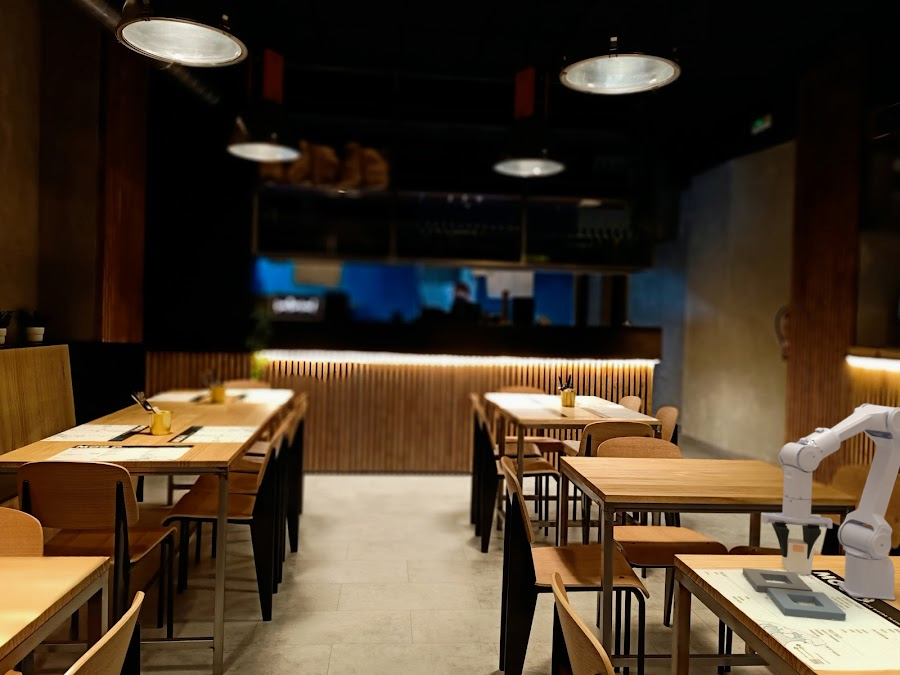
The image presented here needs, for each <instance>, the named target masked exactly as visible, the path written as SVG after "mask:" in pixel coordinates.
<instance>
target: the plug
mask: <svg viewBox="0 0 900 675" xmlns="http://www.w3.org/2000/svg"><path fill="white" fill-rule="evenodd" d="M807 547H808V544H807V543H805V542H804V541H803V538H792V537H788V543H787V557H783V556H782V555H781V564H782V566H783V567H784V568H785V570H786V569H787V570H799V571H807ZM787 570H786V571H787Z"/></svg>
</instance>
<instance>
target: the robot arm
mask: <svg viewBox="0 0 900 675" xmlns="http://www.w3.org/2000/svg"><path fill="white" fill-rule="evenodd" d="M862 432H864V433H865V435H866V436H868V438H869V439H870V440H871V441H873V442H874V444H875V446H876V450H875V453H874V455H873V459H872V462H871V465H870V469H869V472H868V475H867V478H866V482H865V484H864V487H863V491H862V494H861V498H860V501H859V504H858V506H857V509H855V510H853V511H851V512H849V513H847V514H846V517H845V519H844V521H843V523H841V525H840V526H839V527H838V532H837V538H838V541H839V543H840V545H842V549H843V550H844V551H845V562H844V582H839V581H838V582H837V585H838V587H840V588H841V589H842V590H844V591H845V592H846V593H847V594H848V595H849V596H850V597H857V598H865V599H866V598H868V599H869V598H870V599H880V600H891V601H896V597H895V594H894V593H895V565H894V562H893V560H892V559H891V558H890V557H889V556H887V555H888V554H889V552H890V551H891V549H892V533H893V529H892V527H891V525H890V524H889V523H888V522H887V520H886V519H885V515H886V512H887V509H888V506H889V503H890V499H891V496H892V493H893V490H894V486H895V482H896V479H897V476H898V473H899V470H900V407H898V406H897V407H894V406H893V407H892V406H886V405H885V406H884V405H877V404H872V403H863V404H861V405H860V406H859V407H855V408H854V409H853V413H852V414H851V415H849V416H847V417H846V418H845V419H843V420H842V421H840V422H839V423H837V424H836V425H834V426H832V427H831V428H828V427H817V428H815V429H814V432H813V433H812V432H811V433H810V434H809V435H807V436H805V437H802V438H799V440H798V441H796V442H788V443H786V444H785V445H783V446H782V448H781V449H780V453H778V456H777V458H778V461H779V464H780V465H781V467H782V468H781V472H782V473H783V484H782V485H783V487H782V488H783V492H782V495H783V496H782V512H761V513H760V522H762V523H763V524H771V525H772V528H773V530H774V533H775V535H776V537H777V538H776V539H777V540H778V545H779V549H780V555H781V557H782V556H783V557H787V543H788V538H789V535H790V529H789V528H788V525H794V526H801V527H802V537H803V538H802V540H803V541H804V542H805V543H807V544H808V547H807V559H809V556H810V553H811V550H812V548H813V545H814V546H815V543H816V542H817V541H818V539H819V538H820V536H821V534H822V529H821V528H826V529H833V522H834V521H833V519H832V518H830V517H824V516H818V515H811V514H812V492H813V489H812V488H813V471H816V469H818V466H819V465H820V463H821V461H823V459H825V458H826V457H828V456H830V455H832V454H833V453H835V452H837V451H839V449H840V448H841V443H842V442H843V441H845V440H848V439H850V438H851V437H854V436H857V435H858V434H860V433H862ZM867 525H868V526H867ZM820 527H821V528H820Z"/></svg>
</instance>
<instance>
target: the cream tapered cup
mask: <svg viewBox="0 0 900 675" xmlns="http://www.w3.org/2000/svg"><path fill="white" fill-rule="evenodd" d="M815 548H816V547H815V544H814V545H813V548H812V550H811V553H810V556H809V559H807V571H799V570H788V571H787V569H786V568H785V570H786V571H787V572H794V573H796V574H797V575H798V574H802V575H801V576H808V575H807V574H810V575H811V574H812V569H813V562H814V555H815Z"/></svg>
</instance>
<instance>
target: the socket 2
mask: <svg viewBox="0 0 900 675" xmlns="http://www.w3.org/2000/svg"><path fill="white" fill-rule="evenodd" d="M766 594H767V595H768V597H769V598H770V599H771V600H772V602H773V603H774V604H775V605H776V607H777V608H778V609H779V610H780V612H781V613H782V614H783V615H784V616H788V617H789V616H790V617H797V618H798V617H800V618H810V619H820V620H821V619H822V620H830V619H834V620H833V621H840V620H846V621H847V618H846V617H847V616H846V615H847V614H846V612H845V611H844V610H842V608H840V607H839V605H837V604H836V602H834V601H833V600H832V599H831V598H830V597H829V596H828V595H826V594H825V593H824V592H823V591H821V592H820V591H812V592H811V591H800V590H788V589H777V588H767V593H766ZM795 602H799V603H801V602H802V603H810V604H814V605H807V604H799V603H798V604H797V603H795Z"/></svg>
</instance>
